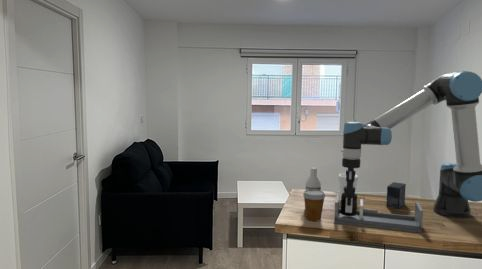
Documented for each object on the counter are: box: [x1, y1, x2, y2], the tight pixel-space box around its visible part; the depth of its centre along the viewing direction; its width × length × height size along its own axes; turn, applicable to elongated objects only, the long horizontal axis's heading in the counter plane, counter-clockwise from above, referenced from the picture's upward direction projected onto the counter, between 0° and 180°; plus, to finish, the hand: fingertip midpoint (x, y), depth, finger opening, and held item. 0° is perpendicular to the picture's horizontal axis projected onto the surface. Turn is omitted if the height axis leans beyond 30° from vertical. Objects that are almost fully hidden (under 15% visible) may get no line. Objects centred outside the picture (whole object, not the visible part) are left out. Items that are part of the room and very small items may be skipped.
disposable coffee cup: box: [302, 189, 326, 222], centre depth 163 cm, size 10×10×12 cm
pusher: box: [359, 198, 379, 219], centre depth 161 cm, size 7×10×7 cm
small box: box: [386, 182, 407, 210], centre depth 183 cm, size 11×6×10 cm, turn 143°
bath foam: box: [305, 166, 322, 191], centre depth 175 cm, size 7×7×20 cm
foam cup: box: [337, 172, 359, 199], centre depth 191 cm, size 10×9×13 cm
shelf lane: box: [333, 194, 424, 234], centre depth 160 cm, size 34×14×9 cm, turn 72°
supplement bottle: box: [340, 186, 358, 216], centre depth 163 cm, size 7×7×12 cm
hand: (348, 209), depth 163 cm, fingers closed on supplement bottle, 7 cm apart
